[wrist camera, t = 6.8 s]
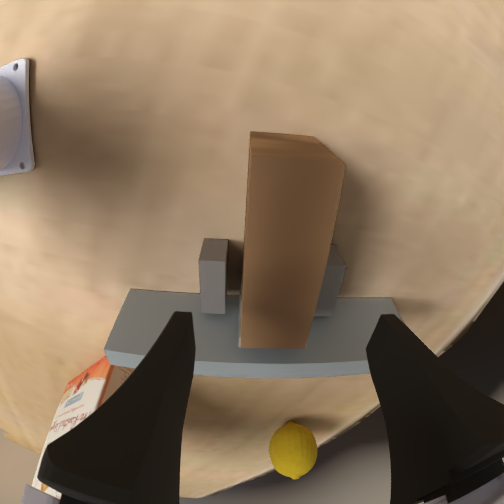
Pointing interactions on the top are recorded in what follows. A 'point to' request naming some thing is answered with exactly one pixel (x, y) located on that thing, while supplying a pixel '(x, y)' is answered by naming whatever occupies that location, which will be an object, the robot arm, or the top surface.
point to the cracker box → (82, 404)
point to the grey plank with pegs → (227, 326)
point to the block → (286, 237)
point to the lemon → (293, 450)
